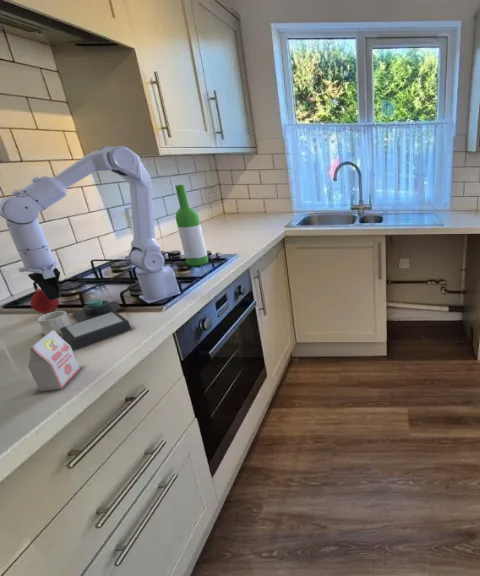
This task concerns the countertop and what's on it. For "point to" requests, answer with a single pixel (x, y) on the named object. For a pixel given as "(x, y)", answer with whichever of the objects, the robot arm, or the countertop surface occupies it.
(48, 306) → the onion
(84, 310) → the pad
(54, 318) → the cup
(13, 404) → the countertop surface
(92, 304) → the button
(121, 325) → the scale
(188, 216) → the wine bottle
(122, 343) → the countertop surface
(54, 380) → the printed snack carton
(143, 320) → the countertop surface
